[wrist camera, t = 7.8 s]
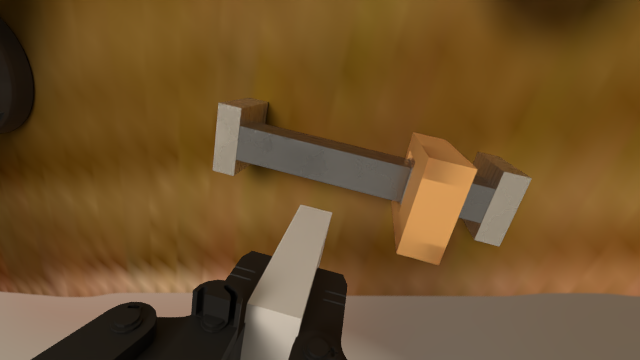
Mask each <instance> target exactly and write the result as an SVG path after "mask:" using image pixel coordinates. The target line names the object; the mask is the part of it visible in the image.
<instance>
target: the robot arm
mask: <svg viewBox="0 0 640 360" xmlns="http://www.w3.org/2000/svg"><path fill="white" fill-rule="evenodd" d="M32 102H33V81H32V75H31V71H30V67H29V64H28V61H27V58H26V56H25V53H24V51H23V49H22V47H21V45H20V43H19V42H18V40H17V38H16V37H15V35H14V34H13V32H12V31H11V30H10V28H9V27H8V26H7V25H6V24H5V22H4V21H3V20H2V19H1V18H0V133H6V132H10V131H13V130H15V129H16V128H18V127H19V126H20V125H22V124H23V123H24V121H25V120H26V118H27V117H28V115H29V113H30V110H31V107H32ZM331 215H332V213H331V212H327V211H324V210H320V209H316V208H312V207H308V206H304V205H300V207H299V209H298V211H297V212H296V214H295V216H294V218H293V220H292V222H291V223H290V225H289V227H288V229H287V231H286V233H285V234H284V236H283V238H282V240H281V242H280V244H279V246H278V247H277V249H276V251H275V253H274V255H273V256H269V255H265V254H262V253H258V252H255V251H251V252H250V253H248V254H246V255H245V256H243V257H242V258H241V259H240V260H239V262H238V263H237V265H236V267H235V268H234V269H233V270H232V272H231V273H230V275H229V276H228V277H227V279H226V280H225V281H223V280H213V281H208V282H205V283H203V284H200V285H199V286H198V287H196V288H195V289H194V290H193V299H192V312H191V315H190V316H186V317H157V316H156V311H155V309H154V308H153V307H152V306H150V305H148V304H145V303H142V302H129V303H125V304H120V305H118V306H116V307H114V308H112V309H110V310H108V311H106V312H105V313H103V314H102V315H100V316H99V317H97V318H96V319H94V320H92V321H91V322H89V323H88V324H86V325H85V326H83V327H81V328H80V329H78V330H77V331H75V332H74V333H72V334H70V335H69V336H67V337H66V338H64V339H63V340H61V341H59V342H58V343H56V344H55V345H53V346H52V347H50V348H48V349H47V350H46V351H44V352H42V353H41V354H39V355H37V356H36V357H35V358H33V359H32V360H347V359H346V357H345V355H344V353H343V351H342V347H341V335H342V327H343V318H344V310H345V301H346V293H347V283H346V281H345V278H344V276H343V275H342V274H338V273H335V272H331V271H327V270H324V269H320V268H319V264H320V260H321V256H322V252H323V248H324V244H325V240H326V236H327V232H328V227H329V223H330V219H331Z"/></svg>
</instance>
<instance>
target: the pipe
mask: <svg viewBox="0 0 640 360" xmlns="http://www.w3.org/2000/svg"><path fill="white" fill-rule="evenodd" d="M267 109H268V102H265V101H261V100H257V99H253V98H246V99H240V100H233V101H227V102H221V103H219V106H218V117H217V128H216V140H215V151H214V162H213V170H214V171H217V172H221V173H225V174H229V175H232V176H234V175H236V174H237V173H239V172H240V171H242V170H243V169H245V168H246V167H248V166H249V165H251V164H255V165H259V166H262V167H266V168H270V169H274V170H278V171H282V172H285V173H289V174H293V175H297V176H301V177H305V178H309V179H312V180H316V181H320V182H324V183H328V184H332V185H336V186H339V187H343V188H347V189H351V190H355V191H359V192H362V193H366V194H370V195H374V196H378V197H382V198H386V199H389V200H393V201H397V202H400V205H401V204H402V201H403V198H404V195H405V192H406V189H407V186H408V183H409V180H410V177H411V174H412V171H413V168H414V165H415V160H414V158H410V157H409V158H408V159H406V158H402V157H397V156H393V155H389V154H385V153H381V152H377V151H373V150H369V149H365V148H361V147H357V146H353V145H348V144H344V143H340V142H336V141H332V140H328V139H324V138H320V137H316V136H312V135H308V134H304V133H299V132H295V131H291V130H287V129H283V128H279V127H275V126H271V125H267V124H265V123H266V116H267ZM473 165H474V166H475V167H476V168H477V169H478V170H477V172H476V175H475V177H474V180H473V182H472V185H471V187H470V190H469V192H468V194H467V197H466V199H465V202H464V204H463V207H462V209H461V212H460V214H459V218H462V220H463V221H464V223H465V225H466V226H467V228H468V230H469V232H470V233H471V235H472V237H473V238H474V240H477V241H481V242H484V243H488V244H492V245H496V246H500V244H501V242H502V240H503V238H504V236H505V234H506V232H507V229H508V227H509V225H510V223H511V221H512V219H513V217H514V215H515V213H516V211H517V208H518V206H519V204H520V202H521V200H522V198H523V196H524V194H525V192H526V190H527V187H528V185H529V183H530V181H531V179H532V178H531V177H529V176H528V175H526V174H525V173H523V172H522V171H520V170H518V169H517V168H515V167H514V166H512V165H511V164H509V163H508V162H506V161H505V160H503V159H502V158H500V157H498V156H493V155H489V154H485V153H481V152H478V153H477V155H476V158H475V160H474V163H473Z"/></svg>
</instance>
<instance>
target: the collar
mask: <svg viewBox="0 0 640 360" xmlns="http://www.w3.org/2000/svg"><path fill="white" fill-rule="evenodd" d="M409 157H410V158H414V160H415V165H414V168H413V171H412V174H411V177H410V180H409V183H408V186H407V189H406V192H405V195H404V198H403V201H402V204H401V205H400V202H397V201H393V200H392V202H391V204H392V215H393V225H394V235H395V246H396V254H400V255H404V256H407V257H411V258H414V259H418V260H422V261H425V262H429V263H432V264H436V265H439V263H440V261H441V259H442V256H443V254H444V251H445V249H446V246H447V244H448V241H449V239H450V236H451V234H452V231H453V229H454V226H455V224H456V222H457V219H458V217H459V214H460V212H461V209H462V207H463V204H464V202H465V199H466V197H467V194H468V192H469V190H470V187H471V185H472V182H473V180H474V177H475V175H476V172H477V170H478V169H477V168H476V167H475V166H474V165H472V164H471V163H470V162H469V161H468V160H467V159H466V158H465V157H464V156H463V155H462V154H461V153H460V152H458V151H457V150H456V149H455V148H454V147H453V146H452V145H451V144H450V143H449V142H448V141H447V140H444V139H440V138H435V137H431V136H427V135H423V134H418V133H414V132H413V135H412V138H411V141H410V144H409V148H408V151H407V154H406V157H405V158H406V159H408V158H409Z"/></svg>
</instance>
